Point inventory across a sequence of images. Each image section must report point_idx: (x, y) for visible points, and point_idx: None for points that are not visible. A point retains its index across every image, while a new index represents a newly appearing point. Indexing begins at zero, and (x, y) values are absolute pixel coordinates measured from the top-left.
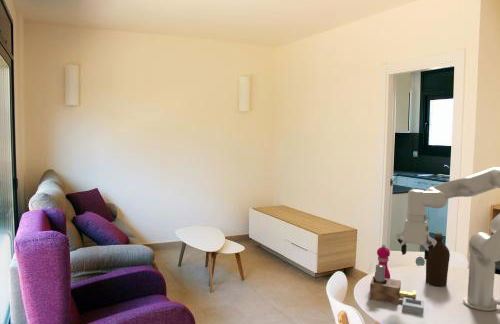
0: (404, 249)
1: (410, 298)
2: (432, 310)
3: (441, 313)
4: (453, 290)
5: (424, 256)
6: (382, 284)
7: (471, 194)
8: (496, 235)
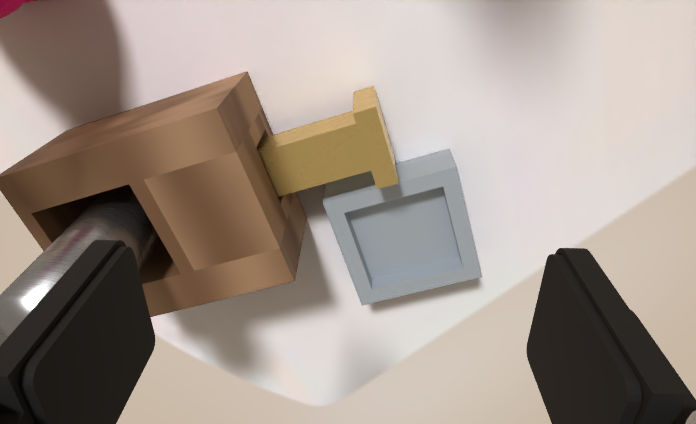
0: (108, 400)
1: (367, 193)
2: (511, 162)
3: (569, 167)
4: None
5: (539, 388)
6: (167, 292)
7: None
8: None
